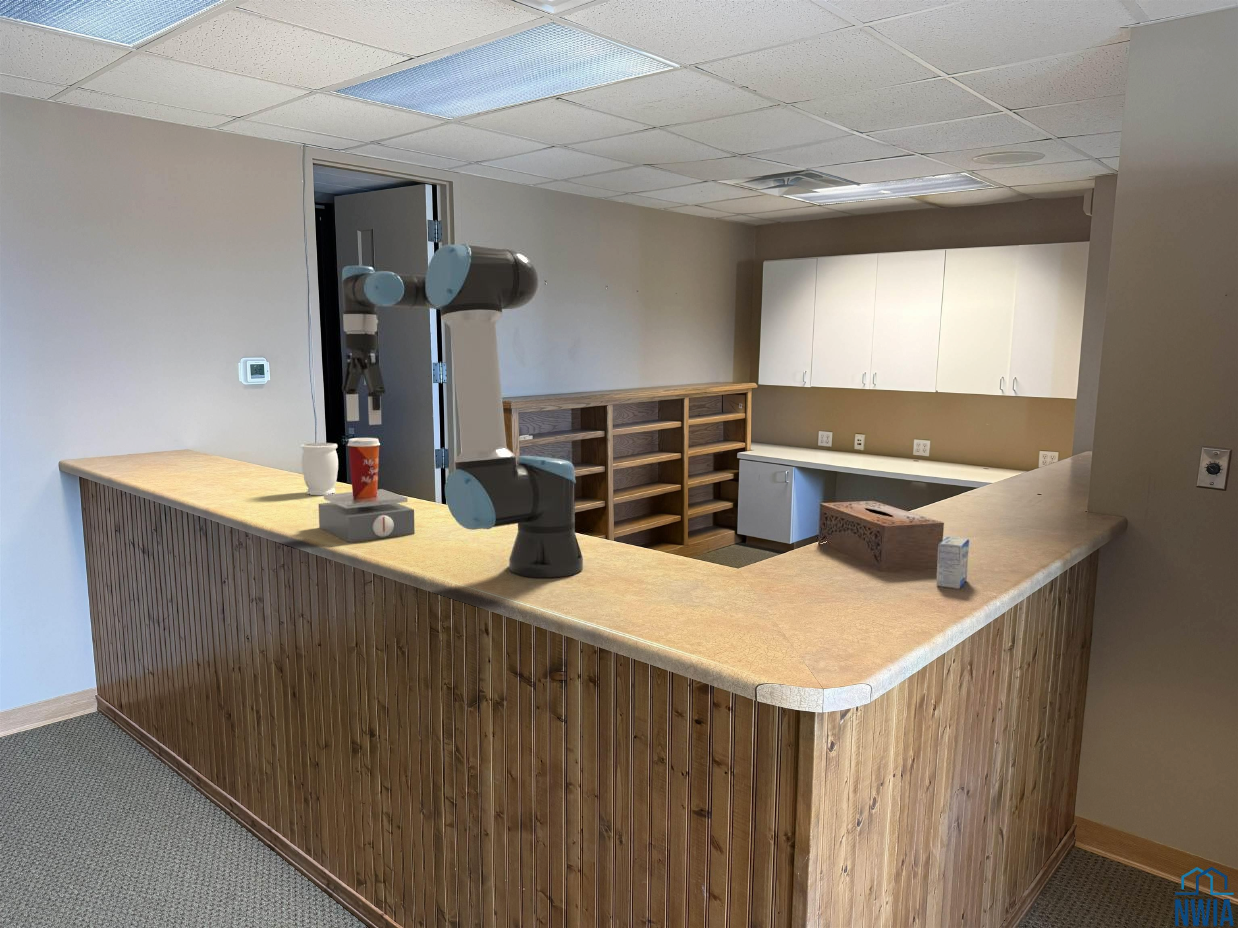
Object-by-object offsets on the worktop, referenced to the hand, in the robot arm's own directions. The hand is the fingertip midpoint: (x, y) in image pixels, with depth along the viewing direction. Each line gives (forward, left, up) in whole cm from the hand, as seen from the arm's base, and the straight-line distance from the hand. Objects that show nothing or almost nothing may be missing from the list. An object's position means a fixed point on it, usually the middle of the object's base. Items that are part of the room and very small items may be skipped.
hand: (363, 422), depth 201 cm
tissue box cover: (-88, -83, -27) cm, 124 cm away
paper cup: (+1, 0, -18) cm, 18 cm away
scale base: (0, 0, -27) cm, 27 cm away
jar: (+57, -9, -27) cm, 64 cm away
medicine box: (-111, -75, -27) cm, 136 cm away
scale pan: (0, 0, -20) cm, 20 cm away
